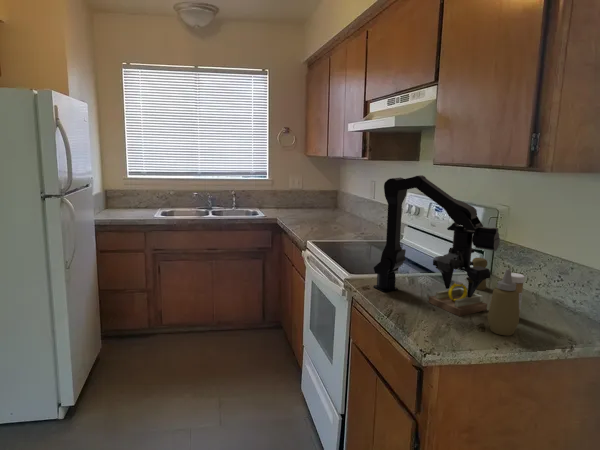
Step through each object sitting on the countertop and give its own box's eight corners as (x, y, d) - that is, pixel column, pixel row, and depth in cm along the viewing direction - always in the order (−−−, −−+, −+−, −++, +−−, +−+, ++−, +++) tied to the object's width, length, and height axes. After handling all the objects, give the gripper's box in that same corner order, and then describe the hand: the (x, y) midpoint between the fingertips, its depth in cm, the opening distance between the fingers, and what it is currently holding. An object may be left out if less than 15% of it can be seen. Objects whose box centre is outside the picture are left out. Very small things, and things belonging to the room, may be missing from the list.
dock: (428, 302, 147) (429, 290, 147) (455, 297, 153) (456, 286, 152) (459, 316, 136) (460, 303, 135) (486, 310, 142) (487, 297, 141)
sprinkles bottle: (500, 314, 138) (504, 272, 136) (514, 314, 138) (519, 272, 136) (508, 320, 134) (513, 277, 131) (523, 320, 134) (528, 276, 132)
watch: (451, 303, 142) (452, 285, 141) (446, 300, 145) (447, 282, 144) (468, 300, 144) (468, 283, 142) (463, 297, 146) (463, 280, 145)
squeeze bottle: (523, 337, 122) (531, 274, 118) (495, 338, 121) (501, 274, 118) (507, 325, 130) (514, 265, 126) (480, 326, 129) (486, 265, 126)
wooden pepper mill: (486, 290, 160) (489, 261, 158) (468, 288, 162) (471, 259, 160) (485, 285, 166) (488, 257, 164) (468, 283, 168) (470, 255, 166)
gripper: (422, 241, 145) (418, 287, 148) (467, 254, 129) (462, 306, 132) (447, 238, 150) (443, 283, 153) (493, 251, 134) (488, 300, 137)
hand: (458, 292), depth 144 cm, fingers open, 9 cm apart
